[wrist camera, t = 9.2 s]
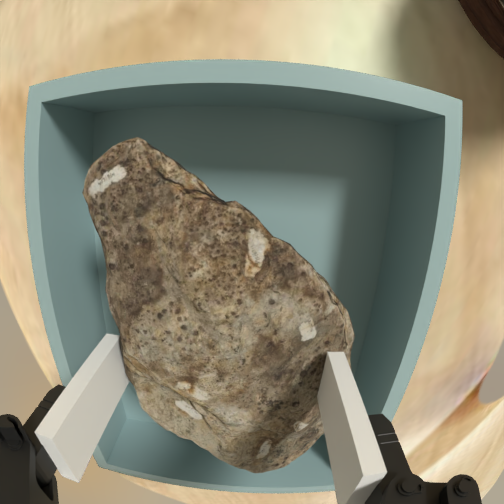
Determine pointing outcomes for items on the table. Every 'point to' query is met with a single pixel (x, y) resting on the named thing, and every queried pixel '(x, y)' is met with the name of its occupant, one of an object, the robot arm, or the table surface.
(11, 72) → the table surface
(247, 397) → the rock
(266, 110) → the storage tub
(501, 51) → the black globe on stand
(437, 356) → the table surface
